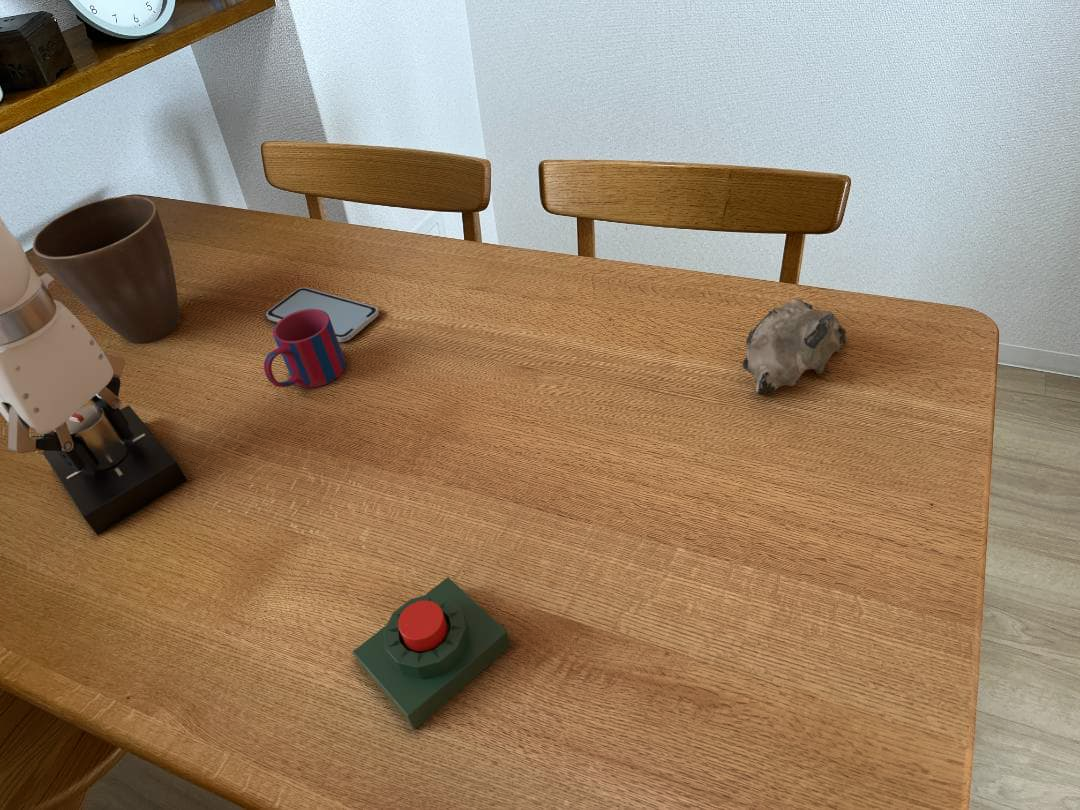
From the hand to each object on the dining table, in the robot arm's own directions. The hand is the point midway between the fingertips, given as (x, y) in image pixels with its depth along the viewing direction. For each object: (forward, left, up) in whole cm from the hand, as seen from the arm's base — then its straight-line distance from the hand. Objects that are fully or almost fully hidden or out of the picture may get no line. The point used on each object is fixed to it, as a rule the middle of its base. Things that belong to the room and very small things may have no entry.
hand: (104, 451), depth 86 cm
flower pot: (+14, +26, -4) cm, 30 cm away
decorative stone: (+60, -45, -4) cm, 75 cm away
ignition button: (+11, -44, 0) cm, 45 cm away
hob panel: (0, 0, -4) cm, 4 cm away
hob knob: (0, 0, -1) cm, 1 cm away
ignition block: (+11, -44, -4) cm, 46 cm away
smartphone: (+31, +8, -4) cm, 32 cm away
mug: (+23, -2, -4) cm, 23 cm away
